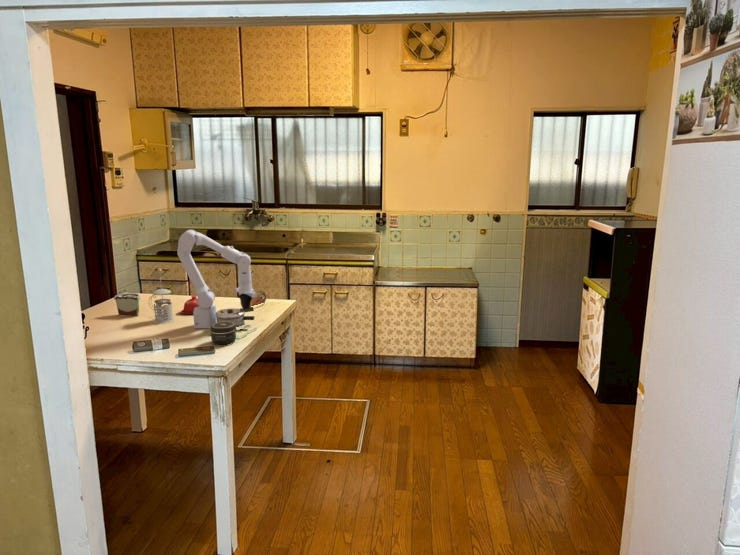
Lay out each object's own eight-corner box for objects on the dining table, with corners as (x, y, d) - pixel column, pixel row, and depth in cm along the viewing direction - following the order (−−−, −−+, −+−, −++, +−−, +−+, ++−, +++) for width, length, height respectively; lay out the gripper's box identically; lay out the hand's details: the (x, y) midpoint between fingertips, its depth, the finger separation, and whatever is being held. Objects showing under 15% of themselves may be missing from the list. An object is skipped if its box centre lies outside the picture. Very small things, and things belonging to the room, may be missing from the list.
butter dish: (201, 316, 248) (200, 299, 246) (178, 315, 249) (177, 298, 247) (211, 309, 259) (209, 293, 257) (189, 308, 260) (188, 292, 258)
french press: (167, 324, 234) (162, 271, 228) (145, 322, 236) (139, 270, 231) (179, 318, 243) (175, 266, 238) (157, 316, 246) (152, 265, 240)
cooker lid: (220, 320, 219) (220, 315, 219) (212, 313, 230) (211, 308, 229) (257, 314, 228) (257, 309, 228) (248, 307, 239) (247, 303, 238)
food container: (146, 312, 252) (144, 293, 250) (140, 316, 246) (138, 296, 244) (123, 312, 253) (121, 292, 251) (116, 315, 247) (113, 295, 245)
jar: (214, 338, 216) (213, 321, 214) (238, 337, 217) (237, 320, 215) (208, 346, 206) (207, 328, 204) (234, 346, 207) (232, 328, 205)
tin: (243, 311, 255) (242, 295, 253) (239, 310, 257) (238, 294, 255) (266, 304, 266) (266, 289, 265) (262, 303, 268) (262, 288, 266)
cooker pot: (213, 332, 223) (212, 319, 222) (221, 323, 235) (220, 311, 234) (251, 332, 224) (250, 319, 222) (257, 323, 235) (256, 311, 234)
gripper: (261, 282, 229) (262, 311, 232) (244, 277, 238) (245, 304, 241) (247, 284, 224) (249, 314, 227) (230, 279, 234) (232, 307, 237)
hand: (246, 309), depth 234 cm, fingers closed
